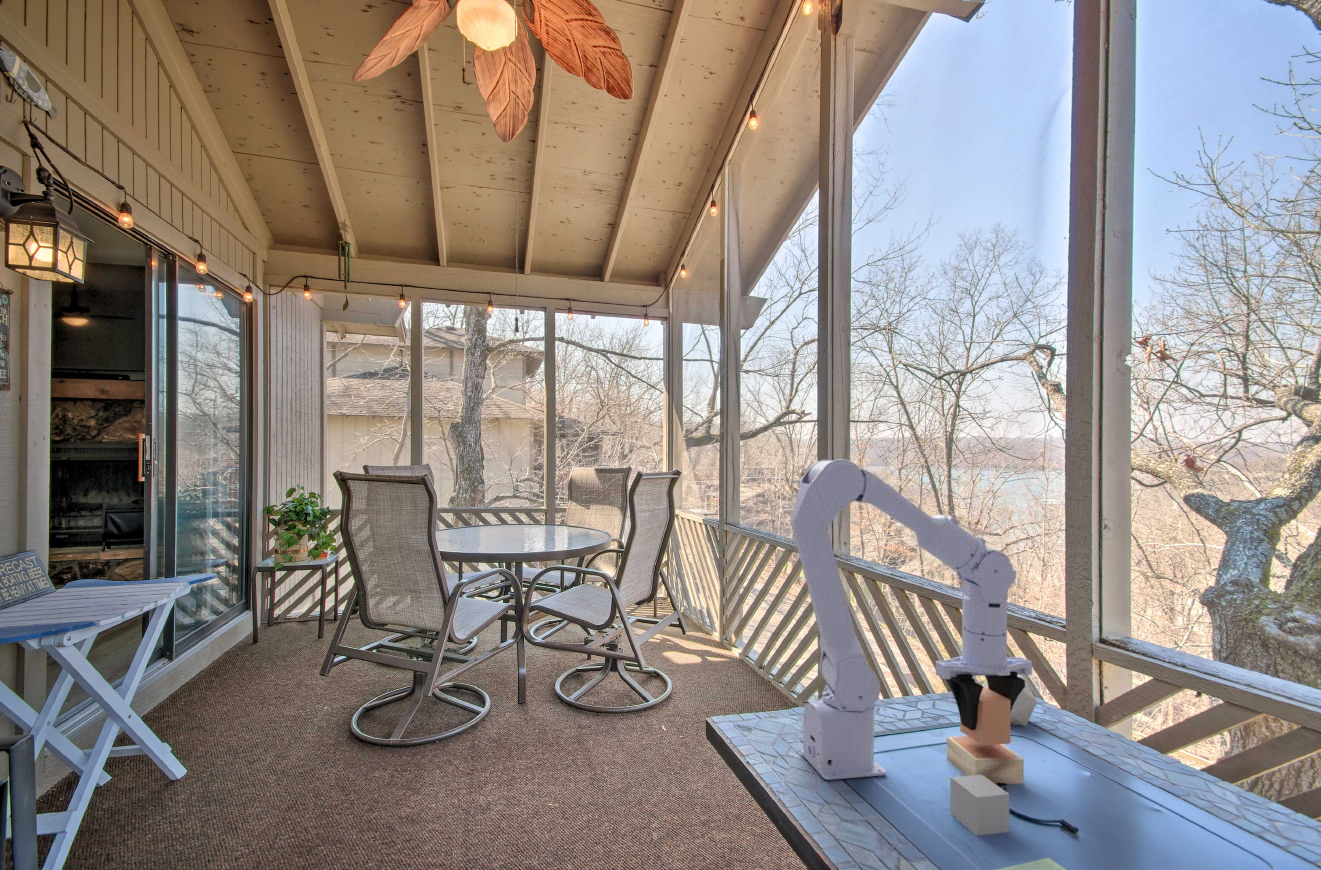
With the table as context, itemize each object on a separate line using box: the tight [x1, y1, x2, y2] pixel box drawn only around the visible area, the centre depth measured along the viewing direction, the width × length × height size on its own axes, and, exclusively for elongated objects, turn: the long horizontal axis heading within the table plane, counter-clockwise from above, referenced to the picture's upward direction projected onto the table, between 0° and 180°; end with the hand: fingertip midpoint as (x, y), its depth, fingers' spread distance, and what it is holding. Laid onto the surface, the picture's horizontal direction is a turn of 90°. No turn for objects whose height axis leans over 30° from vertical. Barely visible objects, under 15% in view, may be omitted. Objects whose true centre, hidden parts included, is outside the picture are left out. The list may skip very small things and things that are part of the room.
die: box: [982, 674, 1038, 727], centre depth 103 cm, size 8×9×10 cm
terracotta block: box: [959, 688, 1011, 746], centre depth 86 cm, size 4×4×6 cm
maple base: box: [946, 735, 1025, 785], centre depth 86 cm, size 7×7×4 cm
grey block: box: [950, 775, 1010, 837], centre depth 73 cm, size 4×4×4 cm
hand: (983, 726), depth 86 cm, fingers closed on terracotta block, 4 cm apart
